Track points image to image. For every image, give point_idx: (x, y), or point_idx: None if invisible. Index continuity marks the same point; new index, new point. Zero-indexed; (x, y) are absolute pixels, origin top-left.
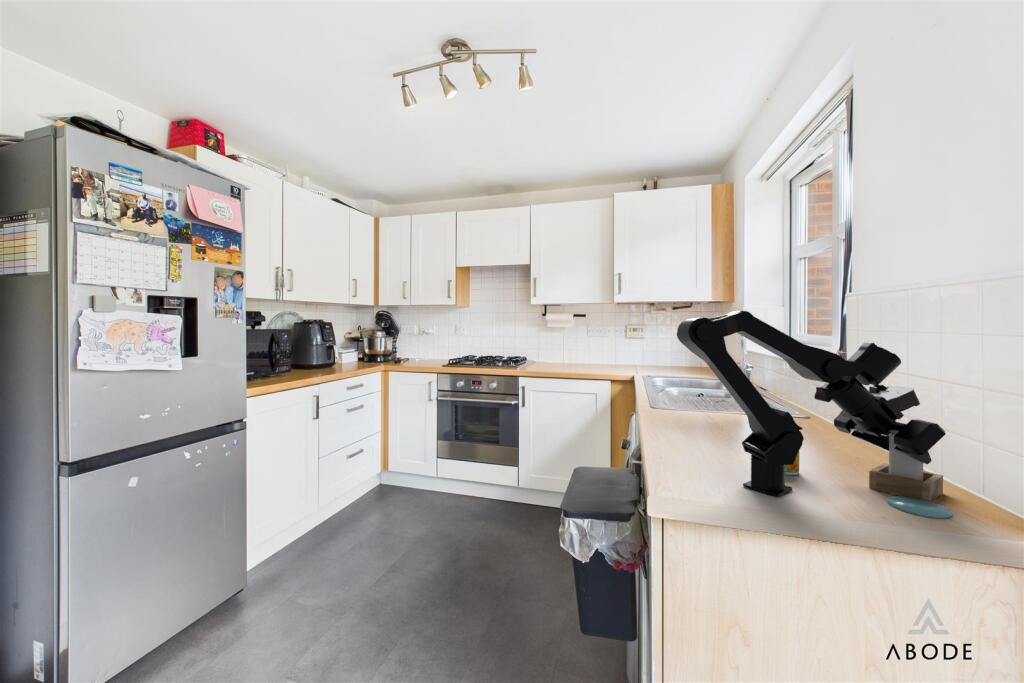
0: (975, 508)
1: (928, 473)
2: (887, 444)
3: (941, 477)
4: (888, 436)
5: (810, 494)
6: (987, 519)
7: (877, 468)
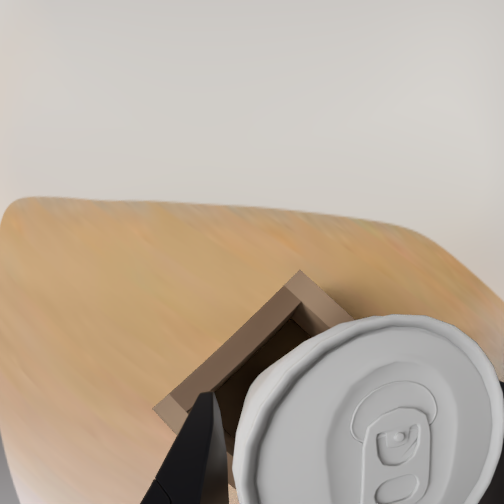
0: (402, 287)
1: (286, 313)
2: (222, 484)
3: (319, 289)
4: (205, 496)
5: None
6: (464, 311)
7: None
